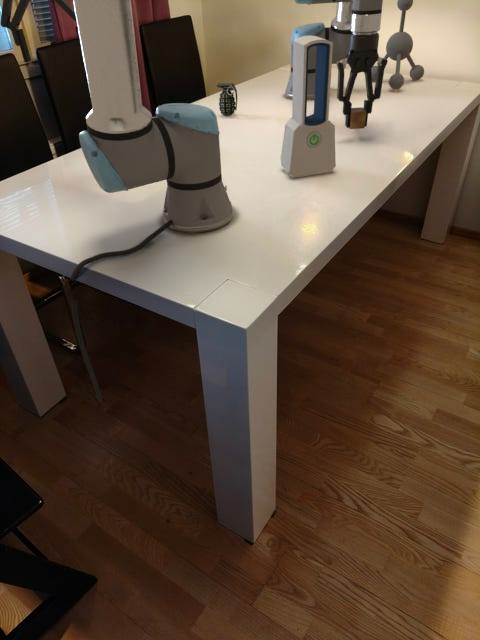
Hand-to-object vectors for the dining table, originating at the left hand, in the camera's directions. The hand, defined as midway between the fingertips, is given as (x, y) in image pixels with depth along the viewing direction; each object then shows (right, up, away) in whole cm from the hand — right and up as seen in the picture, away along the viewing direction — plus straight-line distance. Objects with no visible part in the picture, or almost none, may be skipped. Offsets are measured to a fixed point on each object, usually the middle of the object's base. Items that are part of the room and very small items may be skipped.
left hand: (56, 59), depth 115 cm
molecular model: (+107, +33, +79) cm, 137 cm away
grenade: (+39, +10, +54) cm, 68 cm away
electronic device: (+61, -23, +11) cm, 66 cm away
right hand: (+77, -6, +25) cm, 81 cm away
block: (+77, -6, +25) cm, 81 cm away
